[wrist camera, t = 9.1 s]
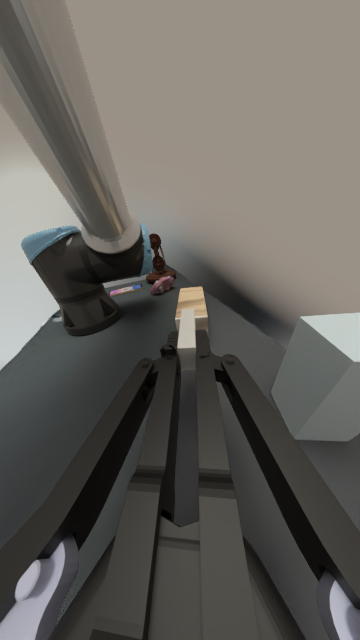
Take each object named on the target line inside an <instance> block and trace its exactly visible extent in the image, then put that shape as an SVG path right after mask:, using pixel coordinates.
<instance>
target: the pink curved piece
mask: <svg viewBox="0 0 360 640" xmlns="http://www.w3.org/2000/svg"><path fill="white" fill-rule="evenodd" d="M174 282H175V279H173V278H172V277H170V276H168V277H162V278H160V279H159V280H158V281H156V282H155V283H154V285H153V287H152V288H151V290H150V292H151V294H156V293H157V292H160V293H163V292H164V288H165V289H166V290H169V289H170V287H171V286H172V285H173V284H174ZM164 286H165V287H164ZM163 287H164V288H163Z"/></svg>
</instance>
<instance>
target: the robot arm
mask: <svg viewBox="0 0 360 640" xmlns="http://www.w3.org/2000/svg"><path fill="white" fill-rule="evenodd" d="M0 104H1V105H2V106H3V108H4V109H5V111H6V112H7V114H8V115H9V117H10V118H11V120H12V121H13V123H14V124H15V126H16V127H17V129H18V130H19V132H20V133H21V134H22V136H23V137H24V139H25V140H26V142H27V143H28V145H29V146H30V148H31V149H32V151H33V152H34V154H35V155H36V156H37V158H38V159H39V161H40V163H41V164H42V165H43V167H44V168H45V170H46V171H47V173H48V174H49V176H50V177H51V179H52V180H53V182H54V183H55V185H56V186H57V188H58V189H59V191H60V192H61V193H62V195H63V196H64V198H65V199H66V201H67V202H68V204H69V205H70V207H71V208H72V210H73V211H74V213H75V214H76V216H77V217H78V218H79V220H80V221H81V223H82V227H81V231H80V230H79V229H78V228H77V227H76V226H63V227H59V228H53V229H48V230H44V231H41V232H38V233H35V234H32V235H29V236H28V237H26V238H24V239H23V241H22V243H21V246H22V249H23V250H24V252H25V254H26V256H27V258H28V260H29V262H30V264H31V265H32V266H33V267H34V268H35V270H36V272H37V273H38V274H39V276H40V278H41V279H42V280H43V282H44V283H45V285H46V286H47V288H48V289H49V291H50V292H51V294H52V295H53V297H54V298H55V300H56V301H57V303H58V304H59V307H60V311H61V316H62V320H63V325H64V327H65V329H66V330H67V332H68V333H69V334H70V335H73V336H82V335H88V334H92V333H95V332H98V331H100V330H103V329H105V328H107V327H108V326H110V325H112V324H113V323H115V322H116V321H117V320H118V319H119V318H120V316H121V310H120V308H119V306H118V304H117V303H116V302H115V301H114V300H113V299H112V297H111V296H110V295H109V294H108V293H107V292H106V290H105V288H104V286H103V284H102V283H106V282H111V281H116V280H122V279H127V278H133V277H140V276H142V275H145V274H149V273H150V272H151V271H152V253H151V244H150V238H149V234H148V230H147V227H146V226H145V225H144V224H141V223H139V221H138V219H137V217H136V216H135V215H134V214H133V213H132V212H130V211H129V210H128V209H127V206H126V202H125V199H124V195H123V193H122V189H121V186H120V182H119V179H118V175H117V172H116V169H115V165H114V162H113V159H112V156H111V152H110V149H109V145H108V142H107V139H106V136H105V132H104V129H103V126H102V122H101V119H100V116H99V112H98V109H97V105H96V102H95V99H94V95H93V92H92V89H91V85H90V82H89V79H88V76H87V72H86V69H85V65H84V62H83V59H82V55H81V52H80V49H79V46H78V42H77V39H76V35H75V32H74V29H73V25H72V22H71V19H70V15H69V12H68V9H67V6H66V2H65V0H0ZM160 352H161V355H162V357H161V358H159V359H157V360H154V361H152V359H150V358H145V359H142V360H141V361H140V362H139V363H138V364H137V366H136V367H135V369H134V370H133V372H132V373H131V375H130V376H129V378H128V379H127V380H126V382H125V383H124V385H123V386H122V388H121V389H120V391H119V392H118V394H117V395H116V397H115V398H114V400H113V401H112V403H111V404H110V406H109V407H108V409H107V410H106V412H105V413H104V415H103V416H102V418H101V419H100V421H99V422H98V423H97V425H96V426H95V428H94V429H93V431H92V432H91V434H90V435H89V437H88V438H87V440H86V441H85V443H84V444H83V446H82V447H81V449H80V450H79V452H78V453H77V455H76V456H75V458H74V459H73V461H72V462H71V464H70V465H69V466H68V468H67V469H66V471H65V472H64V474H63V475H62V477H61V478H60V480H59V481H58V483H57V484H56V486H55V487H54V489H53V490H52V492H51V493H50V495H49V496H48V498H47V499H46V501H45V502H44V504H43V505H42V506H41V507H40V508H39V509H38V510H37V511H36V512H35V513H34V514H33V516H32V517H31V518H30V519H29V520H28V521H27V522H26V523H25V524H24V525H23V526H22V527H21V529H20V530H19V531H18V532H17V533H16V534H15V535H14V536H13V537H12V538H11V539H10V540H9V542H8V543H7V544H6V545H5V546H4V547H3V548H2V549H1V550H0V640H306V639H305V637H304V635H303V634H302V632H301V630H300V628H299V627H298V625H297V623H296V621H295V620H294V618H293V616H292V614H291V612H290V611H289V609H288V607H287V605H286V604H285V602H284V600H283V598H282V597H281V595H280V593H279V591H278V590H277V588H276V586H275V584H274V583H273V581H272V579H271V577H270V576H269V574H268V572H267V570H266V568H265V567H264V565H263V563H262V561H261V560H260V558H259V556H258V555H257V553H256V552H255V551H254V549H253V548H252V546H251V545H250V544H249V543H248V541H247V540H246V539H245V538H244V537H243V536H242V531H241V525H240V519H239V513H238V507H237V501H236V495H235V490H234V485H233V481H232V478H231V473H230V467H229V460H228V454H227V448H226V442H225V435H224V429H223V423H222V416H221V410H220V404H219V398H218V391H217V385H216V381H217V382H221V384H222V386H223V388H224V390H225V393H226V395H227V397H228V399H229V401H230V403H231V405H232V408H233V410H234V412H235V414H236V416H237V418H238V420H239V423H240V425H241V427H242V429H243V431H244V433H245V435H246V438H247V440H248V442H249V444H250V446H251V448H252V450H253V453H254V455H255V457H256V459H257V461H258V463H259V465H260V468H261V470H262V472H263V474H264V476H265V478H266V480H267V483H268V485H269V487H270V489H271V491H272V493H273V495H274V498H275V500H276V502H277V504H278V506H279V508H280V510H281V513H282V515H283V517H284V519H285V521H286V523H287V525H288V527H289V529H290V531H291V533H292V535H293V537H294V539H295V541H296V543H297V545H298V547H299V549H300V551H301V552H302V554H303V556H304V558H305V559H306V561H307V563H308V565H309V566H310V568H311V570H312V572H313V573H314V575H315V576H316V578H317V579H318V581H319V583H318V587H317V603H318V608H319V613H320V616H321V619H322V622H323V624H324V627H325V630H326V632H327V634H328V636H329V638H330V640H360V532H359V530H358V529H357V528H356V526H355V525H354V523H353V522H352V520H351V519H350V518H349V516H348V515H347V513H346V512H345V510H344V509H343V508H342V506H341V505H340V503H339V502H338V500H337V499H336V498H335V496H334V495H333V493H332V492H331V490H330V489H329V488H328V486H327V485H326V483H325V482H324V480H323V479H322V478H321V476H320V475H319V473H318V472H317V470H316V469H315V467H314V466H313V465H312V463H311V462H310V460H309V459H308V457H307V456H306V455H305V453H304V452H303V450H302V449H301V447H300V446H299V445H298V443H297V442H296V440H295V439H294V437H293V436H292V435H291V433H290V432H289V430H288V429H287V427H286V426H285V425H284V423H283V422H282V420H281V419H280V417H279V416H278V415H277V413H276V412H275V410H274V409H273V407H272V406H271V405H270V403H269V402H268V400H267V399H266V397H265V396H264V395H263V393H262V392H261V390H260V389H259V387H258V386H257V385H256V383H255V382H254V380H253V379H252V377H251V376H250V375H249V373H248V372H247V370H246V369H245V367H244V366H243V365H242V363H241V362H240V360H239V359H238V358H237V357H236V356H234V355H231V354H226V355H224V356H223V357H219V356H216V355H214V354H212V352H211V350H210V345H209V339H208V332H207V331H206V330H205V329H203V330H196V323H195V312H194V308H193V309H182V311H181V319H180V328H179V331H177V332H171V333H170V334H169V336H168V341H167V344H166V345H164V346H162V347H161V349H160ZM181 370H196V390H197V423H198V456H199V517H200V521H198V522H195V523H192V524H190V525H187V526H184V527H180V526H179V525H177V524H175V523H174V507H175V489H174V480H175V464H176V449H177V433H178V418H179V402H180V387H181ZM151 401H152V403H151ZM150 403H151V408H150V412H149V417H148V421H147V426H146V430H145V435H144V439H143V444H142V448H141V453H140V457H139V461H138V466H137V469H136V471H135V473H134V474H133V476H132V477H131V480H130V482H129V485H128V489H127V492H126V497H125V501H124V505H123V509H122V513H121V517H120V521H119V525H118V529H117V534H116V536H115V537H114V538H113V540H112V541H111V543H110V544H109V546H108V547H107V549H106V550H105V552H104V553H103V555H102V556H101V558H100V560H99V561H98V563H97V564H96V566H95V567H94V569H93V570H92V572H91V573H90V575H89V577H88V578H87V580H86V581H85V583H84V584H83V586H82V587H81V589H80V590H79V592H78V594H77V595H76V597H75V598H74V600H73V601H72V603H71V604H70V606H69V607H68V609H67V611H66V612H65V614H64V615H63V617H62V618H61V620H60V621H59V623H58V624H57V626H56V628H55V625H56V621H57V617H58V614H59V611H60V608H61V605H62V602H63V600H64V598H65V596H66V594H67V592H68V590H69V588H70V586H71V584H72V582H73V580H74V579H75V577H76V574H77V572H78V568H79V558H78V555H79V554H78V551H79V549H80V548H81V546H82V545H83V543H84V542H85V540H86V538H87V537H88V535H89V533H90V531H91V530H92V528H93V526H94V524H95V523H96V521H97V519H98V517H99V515H100V513H101V510H102V508H103V506H104V504H105V502H106V500H107V498H108V495H109V493H110V491H111V489H112V487H113V485H114V482H115V480H116V478H117V476H118V474H119V471H120V469H121V467H122V465H123V463H124V460H125V458H126V456H127V454H128V452H129V449H130V447H131V445H132V443H133V441H134V439H135V436H136V434H137V432H138V430H139V428H140V425H141V423H142V421H143V419H144V417H145V414H146V412H147V410H148V408H149V406H150Z"/></svg>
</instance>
